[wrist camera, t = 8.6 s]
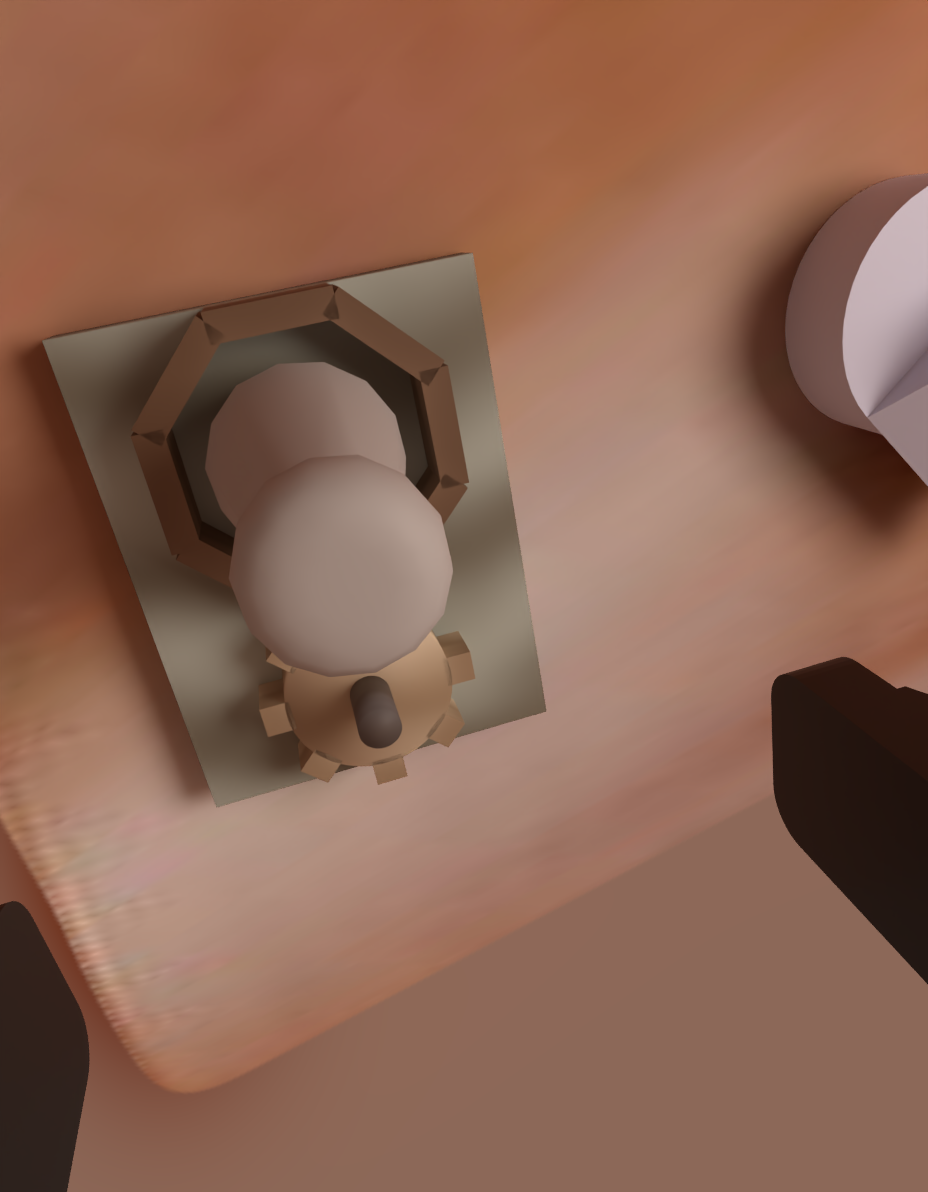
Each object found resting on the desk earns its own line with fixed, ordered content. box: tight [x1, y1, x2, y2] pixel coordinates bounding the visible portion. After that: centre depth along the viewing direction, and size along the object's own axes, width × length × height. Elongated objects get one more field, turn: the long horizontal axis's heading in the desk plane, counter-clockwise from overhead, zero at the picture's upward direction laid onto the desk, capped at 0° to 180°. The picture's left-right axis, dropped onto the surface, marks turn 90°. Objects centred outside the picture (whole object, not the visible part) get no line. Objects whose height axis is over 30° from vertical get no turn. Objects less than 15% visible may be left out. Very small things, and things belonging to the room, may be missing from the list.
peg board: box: [42, 253, 546, 807], centre depth 28 cm, size 17×13×6 cm
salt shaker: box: [205, 362, 453, 677], centre depth 21 cm, size 6×6×13 cm
